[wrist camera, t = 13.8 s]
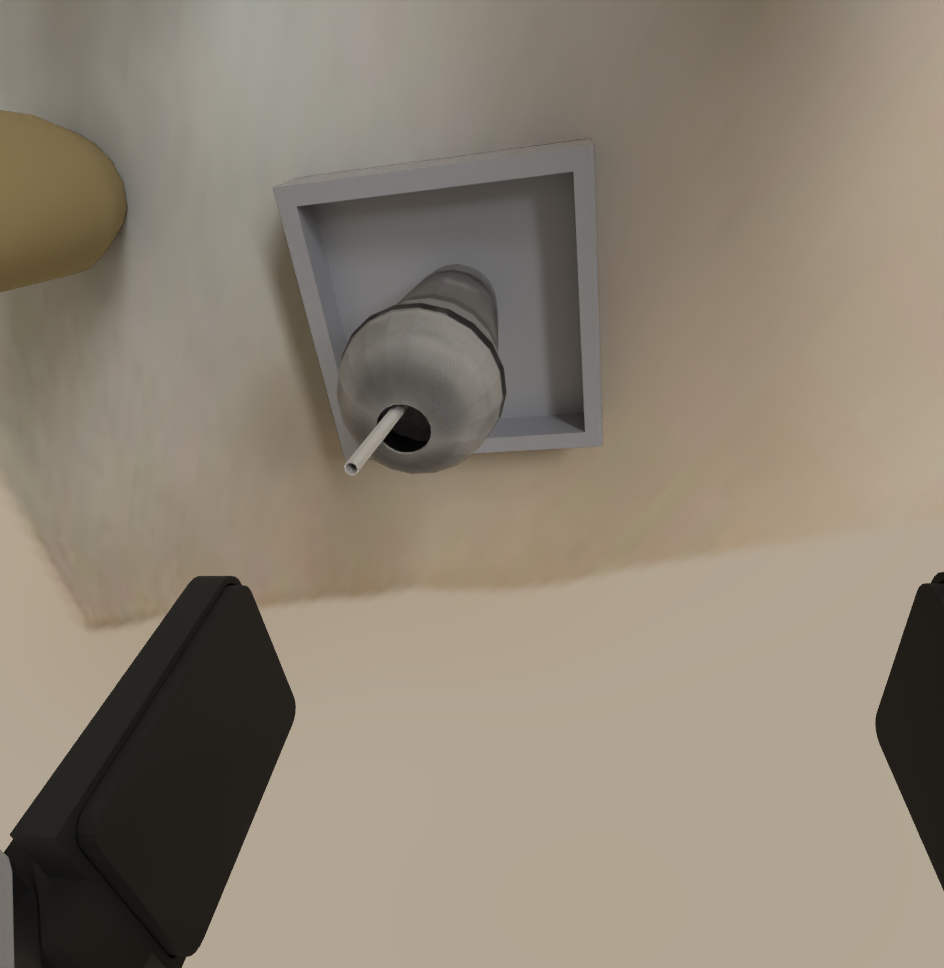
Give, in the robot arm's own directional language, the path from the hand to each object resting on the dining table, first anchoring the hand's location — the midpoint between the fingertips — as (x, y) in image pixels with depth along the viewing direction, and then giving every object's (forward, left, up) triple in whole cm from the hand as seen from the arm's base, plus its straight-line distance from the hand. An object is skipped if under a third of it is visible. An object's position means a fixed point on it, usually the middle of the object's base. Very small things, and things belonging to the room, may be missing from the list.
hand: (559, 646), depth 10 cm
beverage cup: (+4, -6, -30) cm, 31 cm away
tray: (+4, -6, -31) cm, 32 cm away
